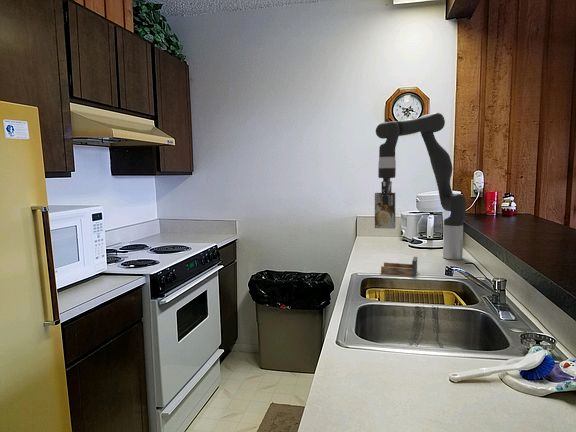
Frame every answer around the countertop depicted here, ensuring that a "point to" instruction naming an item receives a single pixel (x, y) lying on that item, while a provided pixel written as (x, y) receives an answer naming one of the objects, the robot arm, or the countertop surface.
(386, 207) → the coffee box
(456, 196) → the robot arm
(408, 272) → the endcap cradle
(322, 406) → the countertop surface
